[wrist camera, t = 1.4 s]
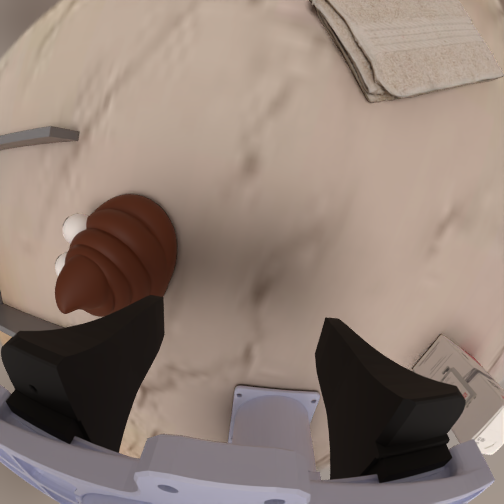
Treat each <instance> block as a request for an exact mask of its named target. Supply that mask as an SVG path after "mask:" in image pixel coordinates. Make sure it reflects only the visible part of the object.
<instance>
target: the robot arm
mask: <svg viewBox="0 0 504 504" xmlns="http://www.w3.org/2000/svg"><path fill="white" fill-rule="evenodd" d="M163 338H164V304H163V297H160V296H155V295H149V296H147V297H144V298H142V299H140V300H138V301H136V302H134V303H132V304H130V305H128V306H126V307H124V308H122V309H120V310H118V311H116V312H114V313H111V314H109V315H107V316H104V317H102V318H99V319H97V320H94V321H91V322H87V323H84V324H80V325H76V326H71V327H67V328H61V329H54V330H43V331H19V332H18V333H16V334H15V335H14V336H13V337H12V338H11V339H10V340H9V341H8V342H7V343H6V344H5V345H3V346H2V349H1V356H2V361H3V364H4V367H5V369H6V371H7V373H8V375H9V378H10V380H11V382H12V383H13V386H14V388H15V391H14V392H13V393H12V394H11V393H10V392H9V391H8V390H7V389H5V387H3V386H1V385H0V462H1V463H3V464H4V465H5V466H6V467H8V468H9V469H10V470H11V471H13V472H14V473H15V474H17V475H18V476H20V477H21V478H22V479H24V480H25V481H26V482H28V483H29V484H31V485H32V486H34V487H35V488H37V489H38V490H40V491H41V492H43V493H44V494H46V495H47V496H49V497H50V498H52V499H54V500H56V501H57V502H59V503H60V504H467V503H469V502H470V501H471V500H473V499H474V498H475V497H476V496H478V495H479V494H480V493H481V492H483V491H484V490H485V489H486V488H488V487H489V486H490V485H491V484H492V483H494V481H495V479H494V477H493V475H492V473H491V471H490V469H489V467H488V465H487V463H486V461H485V459H484V457H483V455H482V453H481V451H480V449H479V448H478V446H477V444H476V442H475V440H474V439H471V440H469V441H466V442H463V443H460V444H457V445H455V446H453V447H452V448H450V449H448V447H447V445H446V444H447V443H448V442H449V437H448V435H447V433H448V432H449V430H450V429H451V428H452V427H453V425H454V424H455V423H456V421H457V420H458V419H459V417H460V416H461V414H462V413H463V410H464V408H465V404H466V400H465V398H464V397H463V395H462V394H461V392H460V391H459V389H458V387H457V386H455V385H451V384H447V383H443V382H439V381H436V380H433V379H430V378H427V377H424V376H422V375H419V374H417V373H414V372H412V371H410V370H408V369H406V368H404V367H402V366H400V365H399V364H397V363H395V362H394V361H392V360H390V359H389V358H387V357H385V356H384V355H383V354H381V353H380V352H378V351H377V350H376V349H374V348H373V347H372V346H371V345H369V344H368V343H367V342H366V341H364V340H363V339H362V338H361V337H360V336H359V335H357V334H356V333H355V332H354V331H353V330H352V329H351V328H349V327H348V326H347V325H346V324H345V323H344V322H342V321H341V320H340V319H337V318H325V321H324V325H323V328H322V332H321V335H320V339H319V342H318V345H317V349H316V352H315V360H316V370H317V375H318V380H319V384H320V388H321V392H322V396H323V400H324V404H325V408H326V413H327V419H328V428H329V441H330V480H321V477H320V472H316V466H315V459H314V451H313V444H312V437H311V431H310V422H311V420H312V417H313V415H314V412H315V409H316V407H317V404H318V401H319V399H320V394H319V393H318V392H308V391H291V390H278V389H267V388H258V387H249V386H236V387H235V392H234V400H233V408H232V415H231V423H230V431H229V439H228V443H223V442H216V441H210V440H203V439H197V438H192V437H187V436H182V435H169V434H160V435H157V436H154V437H151V438H148V439H147V441H146V443H145V446H144V449H143V452H142V454H141V457H140V459H139V458H133V457H129V456H126V455H123V454H120V453H119V449H120V445H121V441H122V437H123V433H124V430H125V426H126V423H127V420H128V417H129V414H130V411H131V408H132V405H133V402H134V399H135V397H136V394H137V392H138V390H139V387H140V385H141V383H142V382H143V380H144V378H145V376H146V374H147V372H148V370H149V369H150V367H151V365H152V363H153V361H154V359H155V357H156V355H157V353H158V351H159V349H160V346H161V343H162V340H163ZM239 393H240V394H241V395H239ZM312 400H314V401H312Z"/></svg>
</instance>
